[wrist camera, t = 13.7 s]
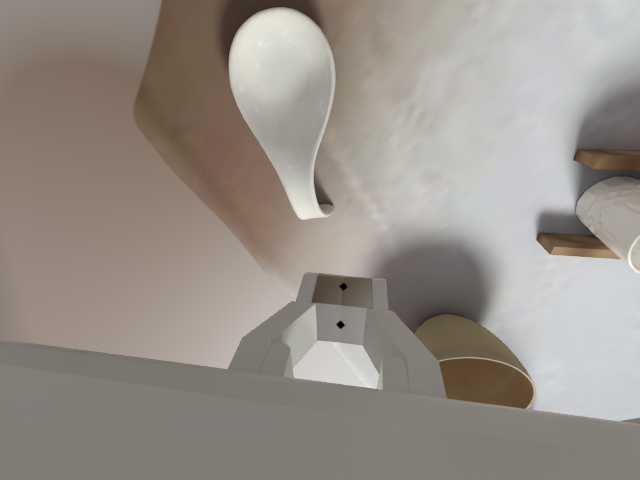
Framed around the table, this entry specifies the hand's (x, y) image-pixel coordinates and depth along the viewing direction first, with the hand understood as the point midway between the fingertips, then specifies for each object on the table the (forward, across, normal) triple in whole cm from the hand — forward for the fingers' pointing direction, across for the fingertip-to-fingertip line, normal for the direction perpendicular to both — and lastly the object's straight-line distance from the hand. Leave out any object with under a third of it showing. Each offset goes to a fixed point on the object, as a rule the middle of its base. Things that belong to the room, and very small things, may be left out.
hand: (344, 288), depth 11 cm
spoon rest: (+30, +8, 0) cm, 31 cm away
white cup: (+29, -31, +8) cm, 43 cm away
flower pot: (+29, -17, +34) cm, 48 cm away
